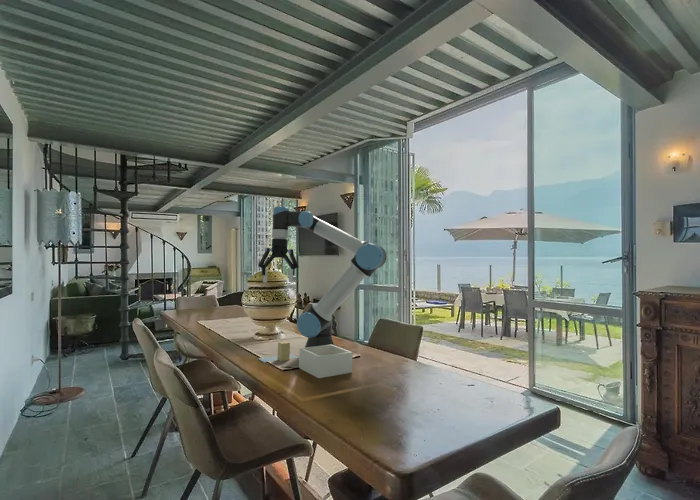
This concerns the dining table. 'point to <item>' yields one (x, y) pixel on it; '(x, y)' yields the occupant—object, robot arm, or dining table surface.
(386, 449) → the dining table surface
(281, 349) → the lid
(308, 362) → the box
